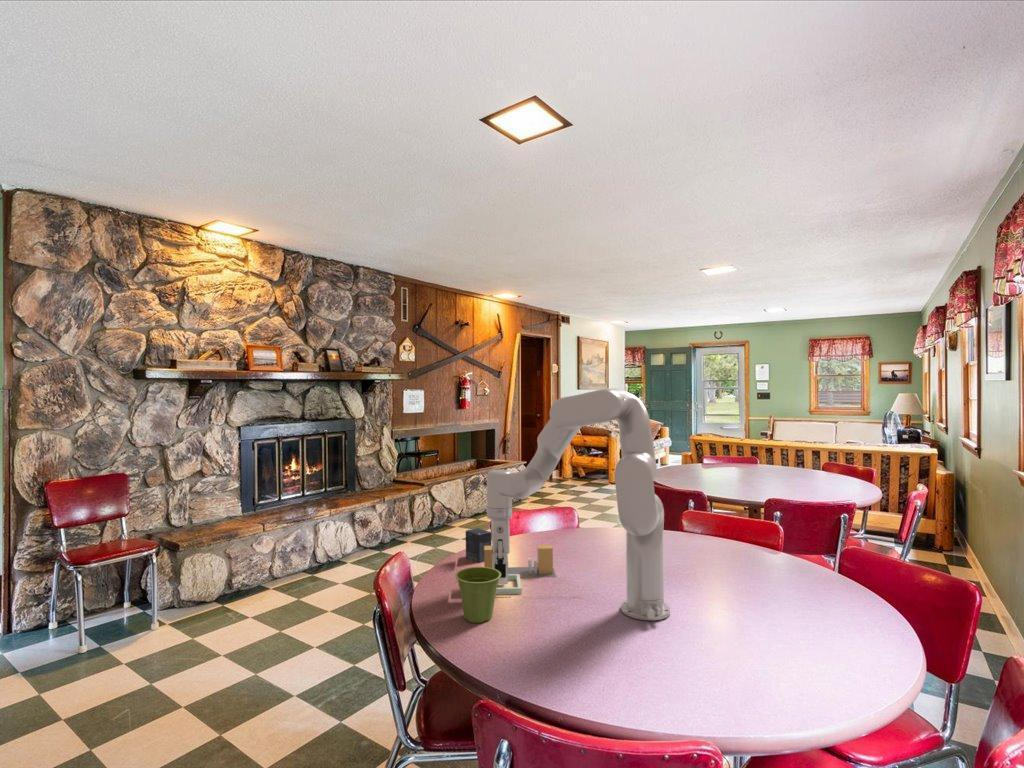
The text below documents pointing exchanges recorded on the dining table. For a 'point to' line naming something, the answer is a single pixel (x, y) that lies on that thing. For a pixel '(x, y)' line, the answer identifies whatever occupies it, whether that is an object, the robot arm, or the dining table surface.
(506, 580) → the white block red top
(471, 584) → the plant pot
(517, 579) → the tray
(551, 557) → the fuse block
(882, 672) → the dining table surface
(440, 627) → the dining table surface
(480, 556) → the box
